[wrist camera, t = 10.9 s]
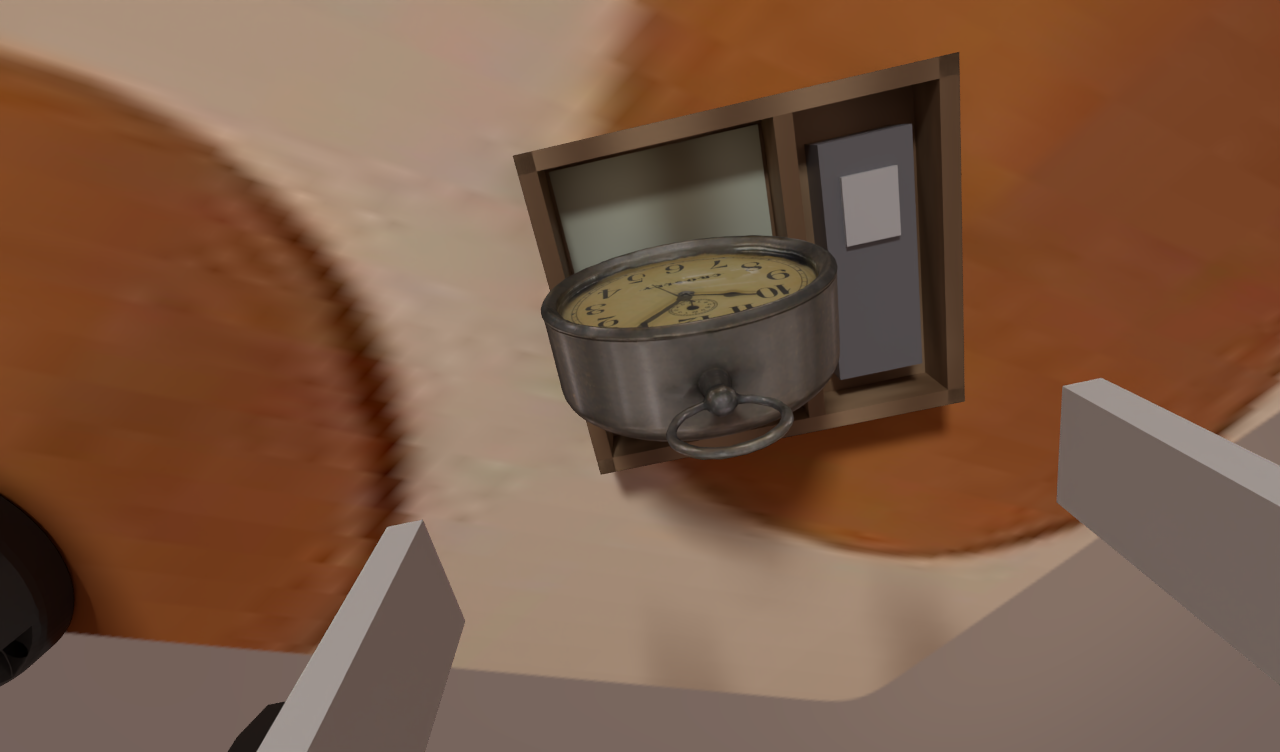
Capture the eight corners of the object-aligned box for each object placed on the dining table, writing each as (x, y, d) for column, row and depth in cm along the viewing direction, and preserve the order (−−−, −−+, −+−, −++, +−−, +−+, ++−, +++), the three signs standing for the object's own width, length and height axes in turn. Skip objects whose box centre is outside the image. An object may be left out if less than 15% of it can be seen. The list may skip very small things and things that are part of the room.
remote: (827, 365, 31) (842, 381, 29) (804, 144, 27) (819, 145, 25) (904, 349, 31) (924, 365, 29) (892, 124, 27) (914, 123, 25)
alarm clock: (784, 217, 28) (967, 308, 13) (793, 326, 30) (961, 512, 15) (556, 258, 29) (483, 392, 14) (580, 363, 31) (538, 579, 16)
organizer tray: (602, 444, 34) (600, 474, 31) (524, 153, 28) (512, 155, 25) (933, 377, 33) (964, 401, 30) (922, 61, 27) (959, 52, 24)
